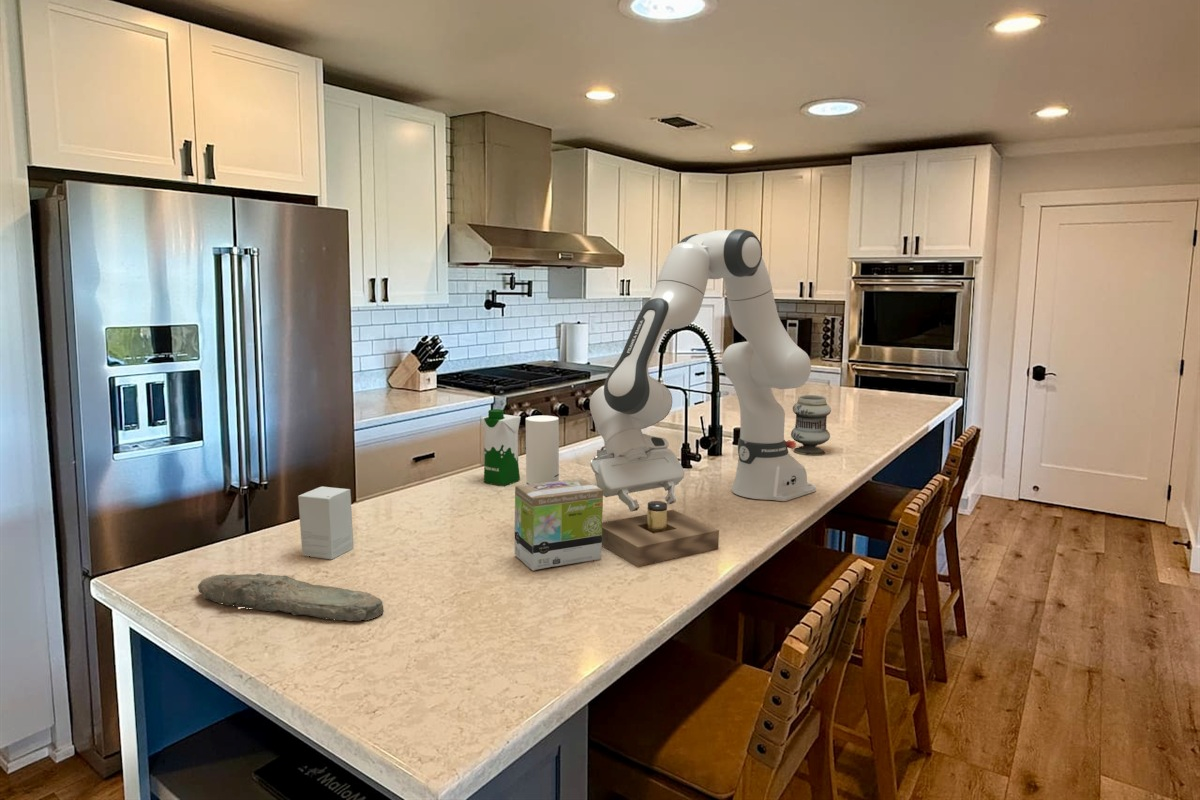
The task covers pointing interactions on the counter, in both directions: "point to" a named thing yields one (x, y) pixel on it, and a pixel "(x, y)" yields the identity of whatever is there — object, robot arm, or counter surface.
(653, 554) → the socket block
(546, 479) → the cylindrical container
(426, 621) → the counter surface
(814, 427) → the apothecary jar
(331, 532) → the supplement box
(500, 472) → the milk carton
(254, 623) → the counter surface
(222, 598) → the elongated rock
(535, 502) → the tea box
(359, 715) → the counter surface
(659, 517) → the spice jar
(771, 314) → the robot arm
